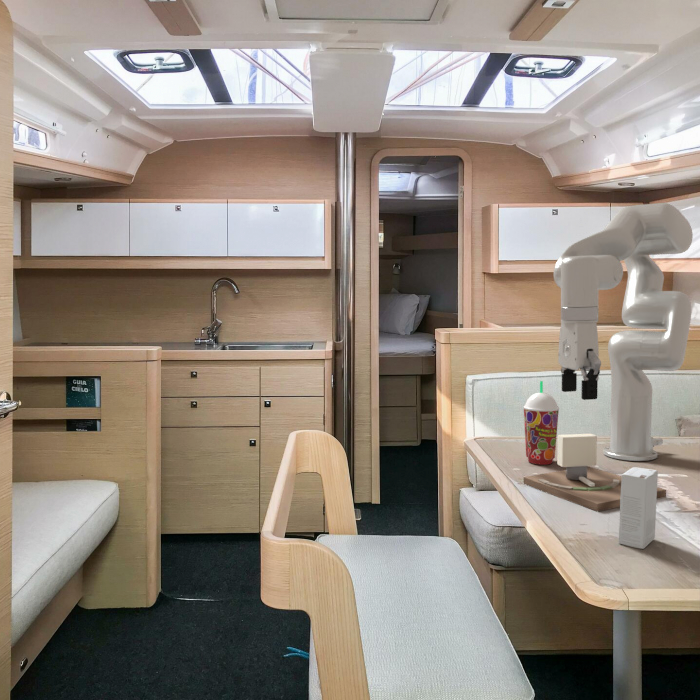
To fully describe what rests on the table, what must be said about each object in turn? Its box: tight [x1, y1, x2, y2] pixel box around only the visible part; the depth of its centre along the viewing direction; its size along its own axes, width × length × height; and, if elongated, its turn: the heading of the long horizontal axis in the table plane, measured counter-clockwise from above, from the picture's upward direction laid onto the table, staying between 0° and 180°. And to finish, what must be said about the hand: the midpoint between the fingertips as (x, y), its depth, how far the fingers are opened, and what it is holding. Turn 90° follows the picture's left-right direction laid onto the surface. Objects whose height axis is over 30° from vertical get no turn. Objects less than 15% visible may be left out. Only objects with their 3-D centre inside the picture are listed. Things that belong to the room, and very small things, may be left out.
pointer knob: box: [556, 433, 598, 487], centre depth 143 cm, size 10×8×9 cm
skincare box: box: [618, 466, 659, 550], centre depth 113 cm, size 6×4×12 cm
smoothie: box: [523, 380, 560, 466], centre depth 165 cm, size 8×8×20 cm
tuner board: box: [522, 466, 667, 512], centre depth 143 cm, size 19×21×2 cm
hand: (578, 395), depth 145 cm, fingers open, 9 cm apart
